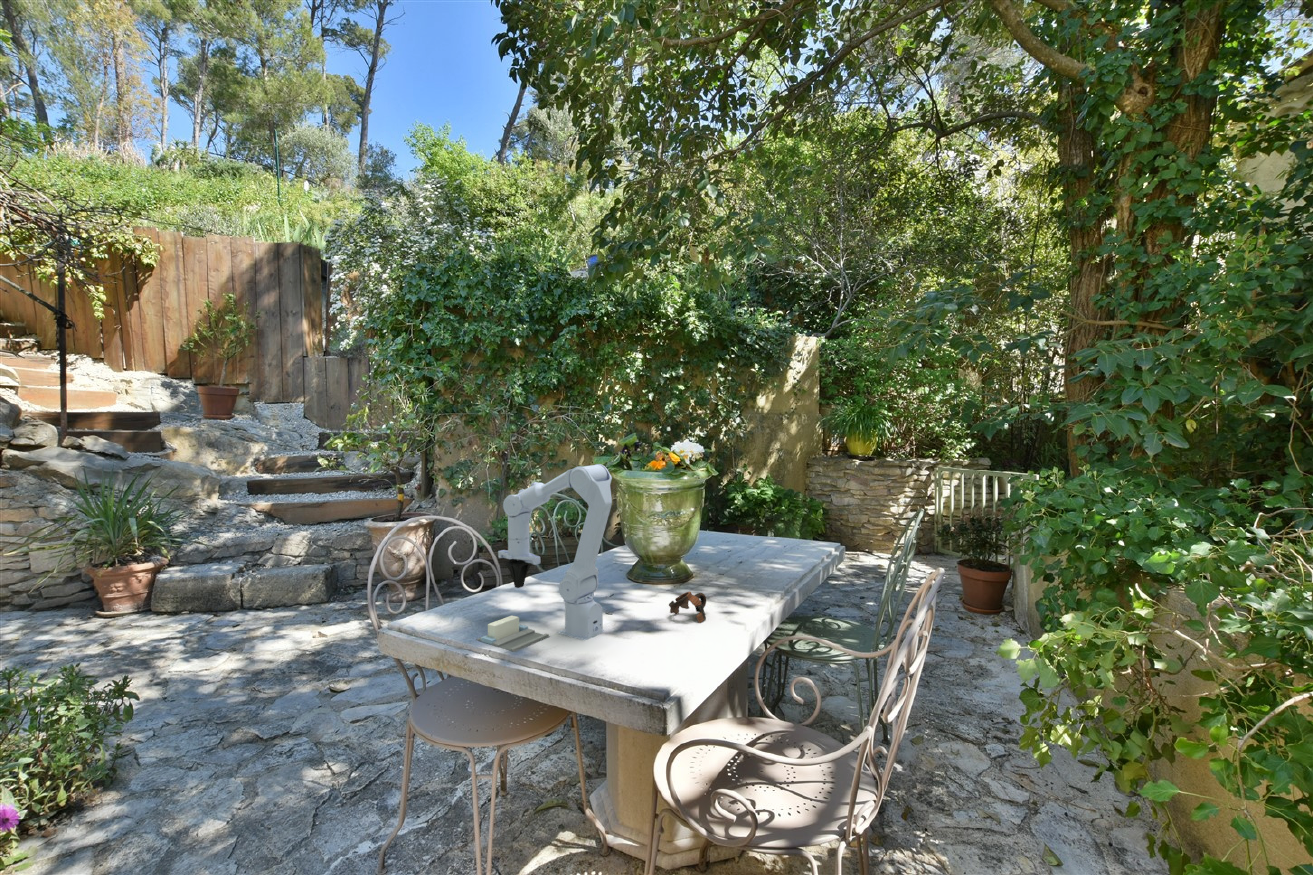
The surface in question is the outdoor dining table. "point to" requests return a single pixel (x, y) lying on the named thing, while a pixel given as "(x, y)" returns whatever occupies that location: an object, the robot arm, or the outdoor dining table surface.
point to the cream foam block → (503, 627)
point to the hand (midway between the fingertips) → (519, 586)
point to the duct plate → (516, 639)
